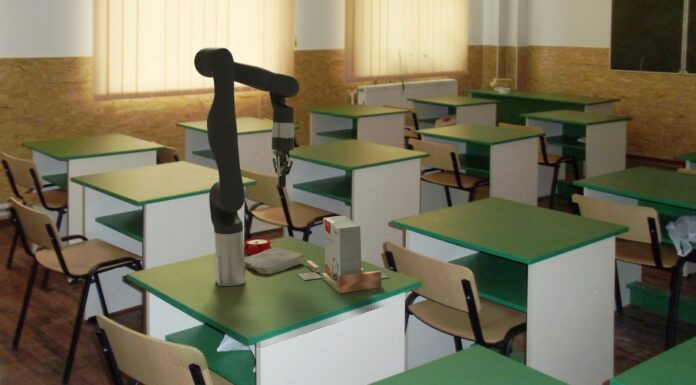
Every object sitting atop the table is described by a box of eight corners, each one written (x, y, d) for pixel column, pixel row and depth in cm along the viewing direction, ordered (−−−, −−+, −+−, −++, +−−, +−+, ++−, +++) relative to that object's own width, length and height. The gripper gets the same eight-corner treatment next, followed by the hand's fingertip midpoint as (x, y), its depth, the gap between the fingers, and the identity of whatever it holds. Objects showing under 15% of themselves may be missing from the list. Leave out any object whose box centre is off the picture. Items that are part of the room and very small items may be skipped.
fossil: (232, 270, 286) (264, 276, 274) (231, 257, 285) (263, 263, 273) (275, 259, 300) (308, 265, 288) (274, 247, 299) (307, 252, 287)
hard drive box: (324, 276, 272) (322, 217, 268) (346, 273, 275) (344, 214, 271) (339, 289, 258) (338, 227, 254) (362, 286, 261) (361, 225, 257)
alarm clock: (279, 240, 306) (252, 240, 293) (277, 256, 306) (251, 257, 294) (258, 236, 312) (231, 236, 299) (256, 253, 312) (229, 253, 299)
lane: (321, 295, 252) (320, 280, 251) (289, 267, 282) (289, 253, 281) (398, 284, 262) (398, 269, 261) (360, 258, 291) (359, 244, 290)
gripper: (265, 134, 283) (264, 185, 285) (280, 137, 271) (278, 189, 273) (285, 135, 286) (284, 184, 288) (300, 137, 275) (299, 188, 277)
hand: (281, 186), depth 281 cm, fingers closed
